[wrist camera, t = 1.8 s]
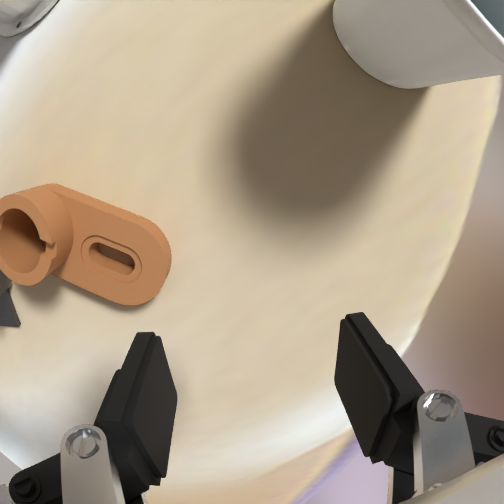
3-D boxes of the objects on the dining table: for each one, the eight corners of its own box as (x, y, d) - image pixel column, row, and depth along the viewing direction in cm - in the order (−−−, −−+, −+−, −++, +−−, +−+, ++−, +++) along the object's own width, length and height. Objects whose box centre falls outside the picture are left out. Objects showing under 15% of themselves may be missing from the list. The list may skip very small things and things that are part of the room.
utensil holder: (330, 86, 24) (449, 25, 8) (315, -33, 20) (378, -134, 3) (449, 105, 25) (575, 101, 9) (430, -4, 20) (525, -50, 4)
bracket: (22, 244, 27) (-14, 265, 21) (34, 174, 25) (-7, 183, 18) (158, 303, 30) (143, 341, 24) (183, 231, 28) (169, 256, 22)
